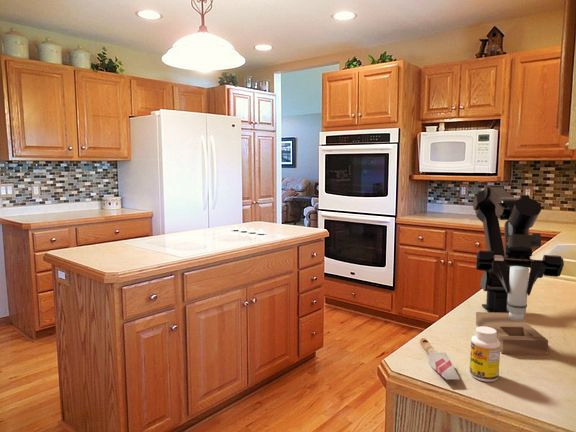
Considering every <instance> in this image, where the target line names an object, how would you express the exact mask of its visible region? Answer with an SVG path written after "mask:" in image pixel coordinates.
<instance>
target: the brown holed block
mask: <svg viewBox="0 0 576 432" xmlns="http://www.w3.org/2000/svg"><path fill="white" fill-rule="evenodd" d="M475 325H476V327H480V326H485V327H490V328H493V329H495V330H496V331H497V339H498V340H499V341H500V354H503V355H532V356H533V355H534V356H536V355H539V356H540V355H541V356H547V355H548V348H549V339H547V338H546V337H545V336H543V334H541V333H540V332H539V331H537V330H536V329H535V328H534V327H532V326H531V325H530V324H529V323H527V322H526V321H525V319H524V320H522V321H516V320H512V319H510V318H509V313H495V312H488V311H486V312H485V311H484V312H483V311H478V312H477V311H476V313H475Z"/></svg>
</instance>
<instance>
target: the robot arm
mask: <svg viewBox="0 0 576 432" xmlns="http://www.w3.org/2000/svg"><path fill="white" fill-rule="evenodd" d="M472 203H473V204H472V209H473V211H474V212H475V217H476V218H477V219H478V220H479V221H481V223H482V226H483V232H484V238H485V245H486V250H482V249H481V250H478V251H477V252H476V261H475V262H476V263H475V269H476V270H477V271H483V273H482V276H481V279H480V288H481V289H482V290H483V291H484V292H486V303H483V304H481V307H482V308H484V309H485V310H486V312H495V313H509V311H508V310H507V307H508V305H507V302H508V294H509V274H510V267H511V266H523V267H527V268H529V276H528V291H527V297H528V296H530V295H531V292H532V290H533V288H534V285H535V283H536V282H537V280H538V279H543V277H544V276H545V277H553V278H554V277H555V278H557V277H560V276H561V274H562V271H563V268H564V266H565V263H564V258H563V257H562V256H561V255H556V254H555V255H554V254H552V255H551V254H543V256H542V260H541V259H533V258H532V259H531V257H532V256H533V249H536V248H537V249H540V248H541V246H542V233H538V232H537V233H534V232H532V233H531V234H530V228H532V227H533V226H534V225H535V223H536V221H537V220H538V217H539V215H540V214H541V211H542V206H541V204H540V203H539V202H538V201H537V200H535V199H532V198H530V195H528V194H520V196H519V197H516V196H513V195H511V194H510V192H508V191H507V190H506V189H505V187H504V186H503V185H500V184H499V185H498V184H497V185H496V184H494V185H493V184H490V185H487V186H485V187H484V189H483V190H481V191H480V192H478V193H476V194H475V196H474V198H473V202H472ZM499 220H500V221H505V223H504V228H503V229H504V230H503V231H504V241H503V238H502V237H503V236H502V232H501V227H500V221H499Z"/></svg>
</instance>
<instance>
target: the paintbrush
mask: <svg viewBox="0 0 576 432" xmlns="http://www.w3.org/2000/svg"><path fill="white" fill-rule="evenodd" d="M419 343H420V344H419V345H421V346H422V347H423V349H424V350H425V351H426V353H427V354H428V357H429V361H428V366H430V367H431V368H432V369H433V370H434V371H436V372H437V373H438V374H439V375H440V376H441V377H442V378H444V379H445V380H461V379H460V376H459V374H458V373H457V371H456V369H455V367H454V366H453V364H452V362H451V360H450V358H449V356H448V354H447V352H437V350H436V349H435V348H434V347H433V346H432V345H431V342H429V341H428V340H427V338H425V337H422V338H420V339H419Z"/></svg>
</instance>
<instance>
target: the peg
mask: <svg viewBox="0 0 576 432" xmlns="http://www.w3.org/2000/svg"><path fill="white" fill-rule="evenodd" d="M529 273H530V268H527V267H523V266H511V267H510V274H509V294H508V302H507V310H508V311H509V318H510V319H512V320H516V321H522V320H524V321H525V314H526V313H527V308H528V294H527V291H528V279H529Z"/></svg>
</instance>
